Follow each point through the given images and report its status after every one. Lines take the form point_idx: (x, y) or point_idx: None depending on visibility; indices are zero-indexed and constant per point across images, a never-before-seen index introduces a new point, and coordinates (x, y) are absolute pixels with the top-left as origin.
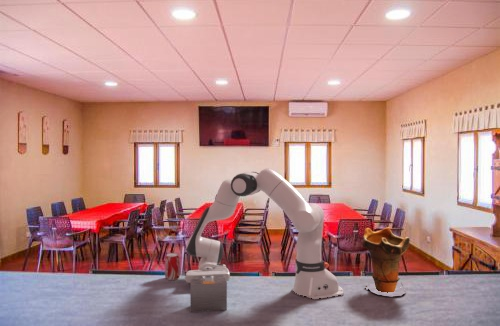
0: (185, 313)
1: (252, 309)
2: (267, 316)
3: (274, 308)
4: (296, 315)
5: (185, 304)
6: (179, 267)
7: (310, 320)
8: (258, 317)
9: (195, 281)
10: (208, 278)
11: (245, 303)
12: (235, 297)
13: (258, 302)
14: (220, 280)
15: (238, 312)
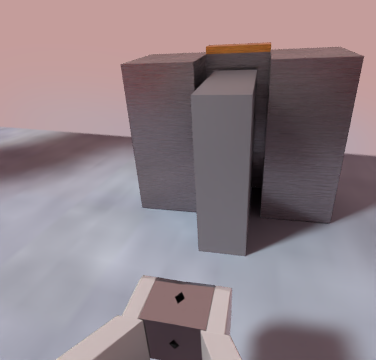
0: (339, 181)
1: (75, 167)
2: (71, 143)
3: (7, 163)
4: (3, 140)
5: (372, 242)
6: None
7: (4, 128)
8: (96, 143)
9: (318, 52)
10: (223, 89)
11: (58, 198)
12: (45, 253)
13: (4, 195)
14: (168, 57)
15: (132, 162)
